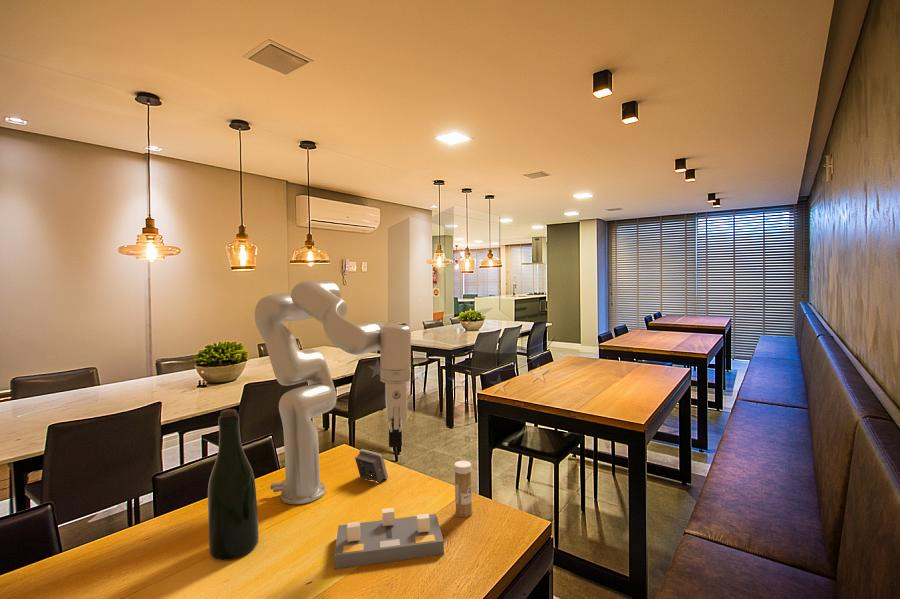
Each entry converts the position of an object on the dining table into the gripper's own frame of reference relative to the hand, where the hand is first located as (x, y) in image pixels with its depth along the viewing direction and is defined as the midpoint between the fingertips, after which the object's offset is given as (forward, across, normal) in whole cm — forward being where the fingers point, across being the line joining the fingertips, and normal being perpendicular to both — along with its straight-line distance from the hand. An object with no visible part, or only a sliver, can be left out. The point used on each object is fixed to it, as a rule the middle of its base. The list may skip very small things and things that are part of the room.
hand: (395, 445), depth 110 cm
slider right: (+17, -10, -6) cm, 20 cm away
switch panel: (+20, -9, +2) cm, 22 cm away
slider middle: (+17, -5, +2) cm, 18 cm away
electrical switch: (+22, +27, +6) cm, 35 cm away
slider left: (+17, -10, +10) cm, 22 cm away
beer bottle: (+22, -2, +38) cm, 44 cm away
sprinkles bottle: (+20, +1, -18) cm, 27 cm away
